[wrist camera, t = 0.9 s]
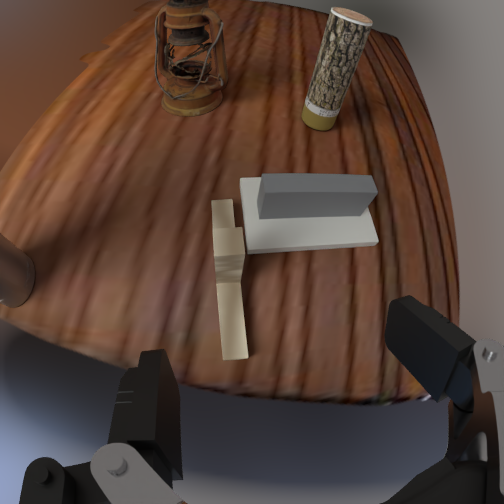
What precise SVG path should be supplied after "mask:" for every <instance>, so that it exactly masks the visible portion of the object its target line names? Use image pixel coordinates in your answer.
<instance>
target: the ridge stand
mask: <svg viewBox="0 0 504 504" xmlns="http://www.w3.org/2000/svg"><path fill="white" fill-rule="evenodd" d="M240 192H241V201H242V210H243V219H244V228H245V237H246V246H247V254H258V253H273V252H288V251H303V250H318V249H333V248H348V247H362V246H375V245H376V244H377V243H378V242H379V241H378V237H377V234H376V231H375V227H374V224H373V221H372V218H371V215H370V212H369V209H368V205H369V204H370V203H371V202H372V200H373V199H374V198H375V196H376V195H377V194H378V191H377V188H376V186H375V183H374V181H373V178H372V176H369V175H347V174H306V173H279V174H262V176H261V177H257V178H240Z"/></svg>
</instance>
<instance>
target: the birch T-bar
mask: <svg viewBox="0 0 504 504" xmlns="http://www.w3.org/2000/svg"><path fill="white" fill-rule="evenodd" d="M212 221H213V245H214V260H215V272H216V284H217V297H218V309H219V321H220V332H221V343H222V353H223V361H225V360H237V359H247V358H248V349H247V340H246V331H245V322H244V312H243V303H242V293H241V284H240V282H241V276H242V270H243V264H244V258H245V248H244V239H243V230H242V227H235V223H234V212H233V201H232V199H226V200H212Z"/></svg>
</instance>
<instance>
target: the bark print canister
mask: <svg viewBox="0 0 504 504" xmlns="http://www.w3.org/2000/svg"><path fill="white" fill-rule="evenodd" d="M372 23H373V22H372V20H370V19H369V18H367V17H366V16H364V15H362V14H360V13H357V12H355V11H352V10H349V9H345V8H340V7H332V9H331V11H330V14H329V18H328V22H327V25H326V29H325V33H324V36H323V40H322V43H321V47H320V51H319V54H318V58H317V61H316V65H315V68H314V72H313V76H312V79H311V83H310V86H309V90H308V93H307V97H306V100H305V104H304V108H303V111H302V119H303V121H304V123H305V124H306V125H307V126H309V127H311V128H313V129H315V130H320V131H325V130H329V129H331V128H332V127H333V125H334V122H335V120H336V117H337V115H338V113H339V110H340V108H341V105H342V103H343V100H344V98H345V95H346V93H347V90H348V88H349V85H350V82H351V80H352V77H353V75H354V72H355V69H356V67H357V64H358V62H359V59H360V56H361V54H362V51H363V48H364V46H365V43H366V40H367V38H368V35H369V32H370V30H371V26H372Z"/></svg>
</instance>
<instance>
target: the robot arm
mask: <svg viewBox="0 0 504 504" xmlns="http://www.w3.org/2000/svg"><path fill="white" fill-rule="evenodd" d="M34 280H35V268H34V264H33V262H32V260H31V259H30V258H29V257H28V256H27V255H26V254H25V253H23V252H22V251H21V250H20V249H18V248H17V247H16V246H15V245H14V244H13V243H11V242H10V241H9V240H8V239H7V238H5V237H4V236H3V235H2V234H1V233H0V303H1V304H4V305H6V306H8V307H13V308H14V307H18V306H20V305H21V304H23V303H24V302H25V301H26V299H27V298H28V297H29V295H30V293H31V291H32V288H33V285H34ZM385 342H386V345H387V347H388V349H389V350H390V351H391V352H392V353H393V354H394V356H395V357H396V358H397V359H398V360H399V361H400V362H401V363H402V364H403V365H404V366H405V367H406V369H407V370H408V371H409V372H410V373H411V374H412V375H413V376H414V377H415V378H416V380H417V381H418V382H419V383H420V384H421V385H422V386H423V387H424V388H425V390H426V391H427V392H428V393H429V394H430V395H431V396H432V397H433V399H434V400H435V401H436V402H437V403H438V402H440V401H441V400H443V399H445V398H446V397H448V396H449V397H450V398H451V400H450V402H449V405H448V447H447V451H446V453H445V456H444V458H443V459H442V460H441V461H439V462H438V463H436V464H435V465H433V466H431V467H430V468H428V469H427V470H425V471H423V472H422V473H420V474H418V475H417V476H416V477H415V478H413V479H412V480H411V481H410V482H409V483H408V484H407V485H406V486H404V487H403V488H402V489H401V490H400V491H399V492H397V493H396V494H395V495H394V496H393V497H391V498H390V499H389V500H388V501H386V502H384V503H381V504H504V346H503V345H502V344H500V343H499V342H497V341H495V340H492V339H481V340H479V341H477V342H476V341H475V340H474V339H472V338H471V337H470V336H468V335H467V334H466V333H465V332H464V331H462V330H461V329H460V328H459V327H457V326H456V325H455V324H453V323H450V321H449V320H448V319H447V318H446V317H443V315H442V314H440V313H439V312H438V311H436V310H435V309H433V308H431V307H428V306H426V305H423V304H422V303H420V302H419V301H418V300H416V299H415V298H414V297H412V296H410V295H408V296H404V297H401V298H398V299H395V300H392V301H391V302H390V305H389V310H388V317H387V323H386V329H385ZM172 480H183V471H182V453H181V426H180V394H179V388H178V384H177V381H176V378H175V376H174V373H173V370H172V368H171V365H170V362H169V359H168V356H167V354H166V351H165V350H164V349H158V350H150V351H142V352H141V354H140V359H139V364H138V367H135V368H129V369H128V370H127V372H126V373H125V374H124V376H123V377H122V378H121V380H120V385H119V389H118V394H117V398H116V404H115V407H114V412H113V417H112V422H111V428H110V433H109V439H108V444H107V445H105V446H103V447H101V448H100V449H99V450H98V451H96V453H95V454H94V456H93V457H92V460H91V461H90V462H87V463H82V464H78V465H73V466H67V467H62V465H60V464H59V463H58V462H57V461H56V460H54V459H52V458H48V457H42V458H38V459H36V460H34V461H33V462H32V463H30V465H29V466H28V467H27V469H26V472H25V476H24V480H23V485H22V491H21V495H20V501H19V504H187V503H186V502H185V501H183V499H181V498H180V497H179V496H178V495H177V494H176V493H175V492H174V491H173V487H172Z"/></svg>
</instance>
